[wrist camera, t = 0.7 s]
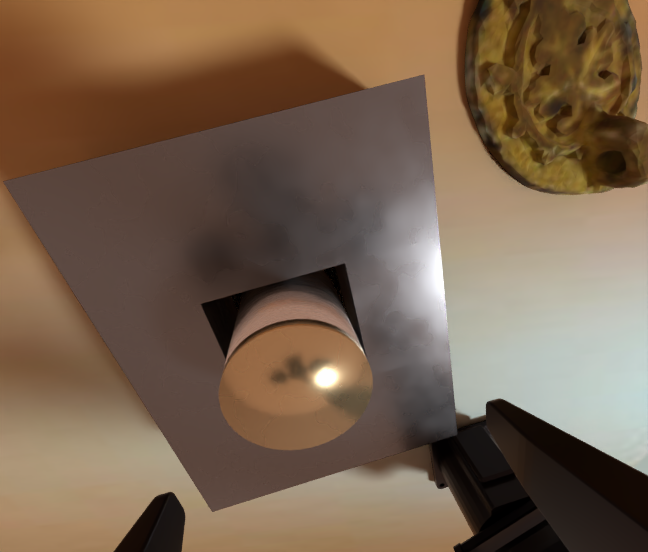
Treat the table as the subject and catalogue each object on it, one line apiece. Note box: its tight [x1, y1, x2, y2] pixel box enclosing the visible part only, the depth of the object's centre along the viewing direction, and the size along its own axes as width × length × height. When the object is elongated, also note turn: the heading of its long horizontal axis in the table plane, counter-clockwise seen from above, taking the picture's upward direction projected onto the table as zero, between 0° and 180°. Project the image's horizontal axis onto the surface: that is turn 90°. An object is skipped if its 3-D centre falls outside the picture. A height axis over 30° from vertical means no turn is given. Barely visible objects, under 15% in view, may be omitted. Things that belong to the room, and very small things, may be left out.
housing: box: [3, 75, 457, 512], centre depth 17 cm, size 20×16×5 cm
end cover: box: [219, 270, 373, 450], centre depth 16 cm, size 6×6×8 cm
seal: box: [465, 0, 648, 195], centre depth 16 cm, size 9×5×15 cm
